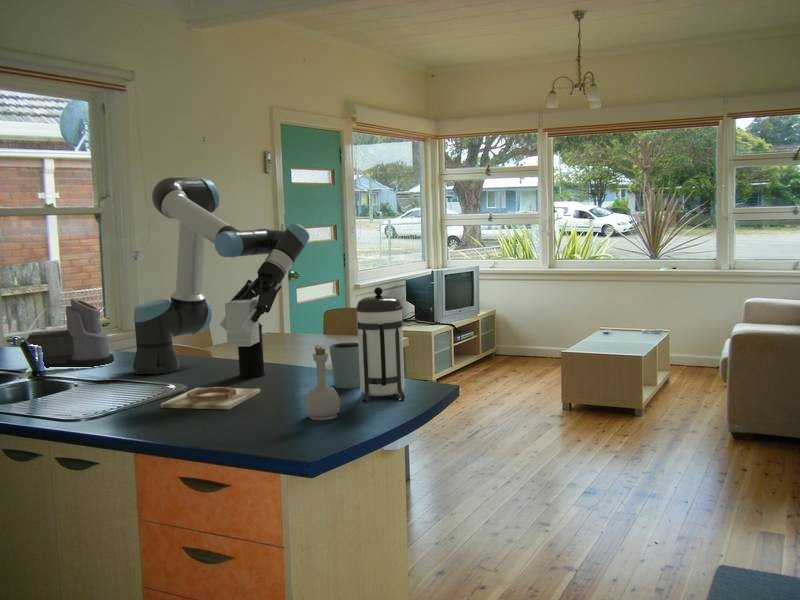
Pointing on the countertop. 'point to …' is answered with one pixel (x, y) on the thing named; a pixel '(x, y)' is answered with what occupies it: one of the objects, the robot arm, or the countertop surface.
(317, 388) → the potion bottle
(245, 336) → the supplement box
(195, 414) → the countertop surface
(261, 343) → the aerosol can
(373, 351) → the coffee press
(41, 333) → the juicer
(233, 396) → the collar board
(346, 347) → the teal cup
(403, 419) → the countertop surface
